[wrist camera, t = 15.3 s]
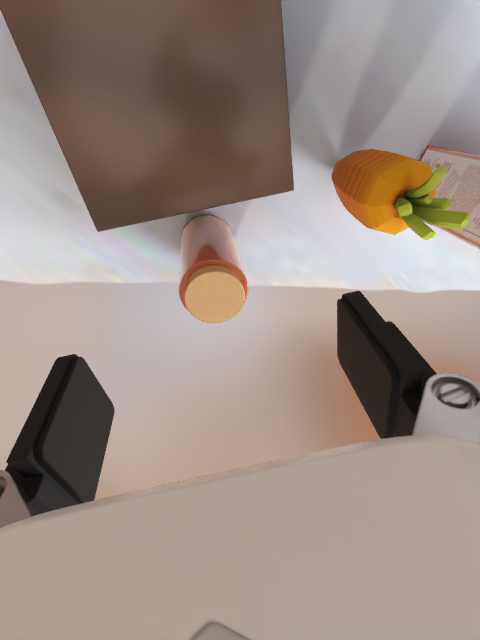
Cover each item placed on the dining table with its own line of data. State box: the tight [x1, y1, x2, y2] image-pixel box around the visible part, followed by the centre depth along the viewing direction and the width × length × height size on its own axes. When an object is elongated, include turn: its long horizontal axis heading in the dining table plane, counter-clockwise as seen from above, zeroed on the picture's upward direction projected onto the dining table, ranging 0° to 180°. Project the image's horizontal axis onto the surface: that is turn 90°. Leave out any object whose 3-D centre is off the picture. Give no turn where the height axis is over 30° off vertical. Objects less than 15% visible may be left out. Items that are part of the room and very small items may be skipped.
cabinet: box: [0, 0, 294, 232], centre depth 21 cm, size 16×14×8 cm
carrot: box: [332, 149, 471, 240], centre depth 23 cm, size 5×5×15 cm
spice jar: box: [179, 215, 248, 323], centre depth 27 cm, size 5×5×11 cm
